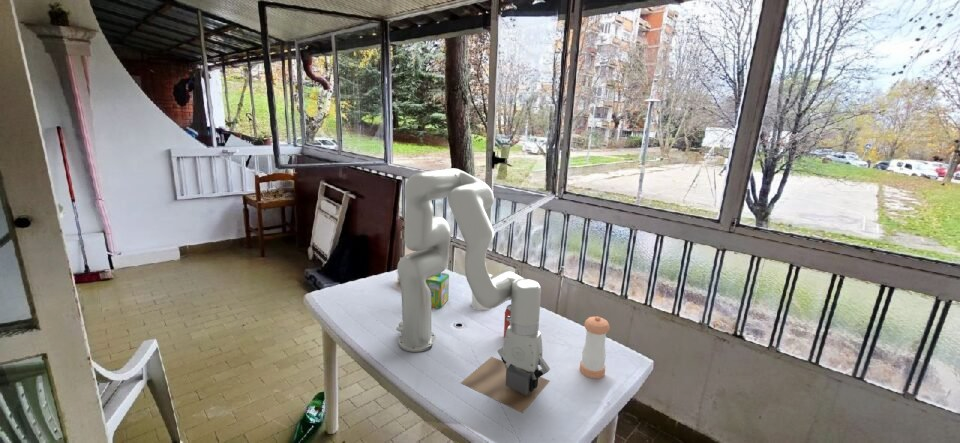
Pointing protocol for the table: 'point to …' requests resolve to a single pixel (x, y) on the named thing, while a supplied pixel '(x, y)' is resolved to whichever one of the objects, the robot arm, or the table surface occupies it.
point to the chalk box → (438, 289)
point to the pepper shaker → (594, 348)
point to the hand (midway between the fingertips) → (521, 383)
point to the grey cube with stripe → (518, 379)
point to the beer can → (506, 323)
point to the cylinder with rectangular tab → (475, 302)
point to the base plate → (501, 385)
